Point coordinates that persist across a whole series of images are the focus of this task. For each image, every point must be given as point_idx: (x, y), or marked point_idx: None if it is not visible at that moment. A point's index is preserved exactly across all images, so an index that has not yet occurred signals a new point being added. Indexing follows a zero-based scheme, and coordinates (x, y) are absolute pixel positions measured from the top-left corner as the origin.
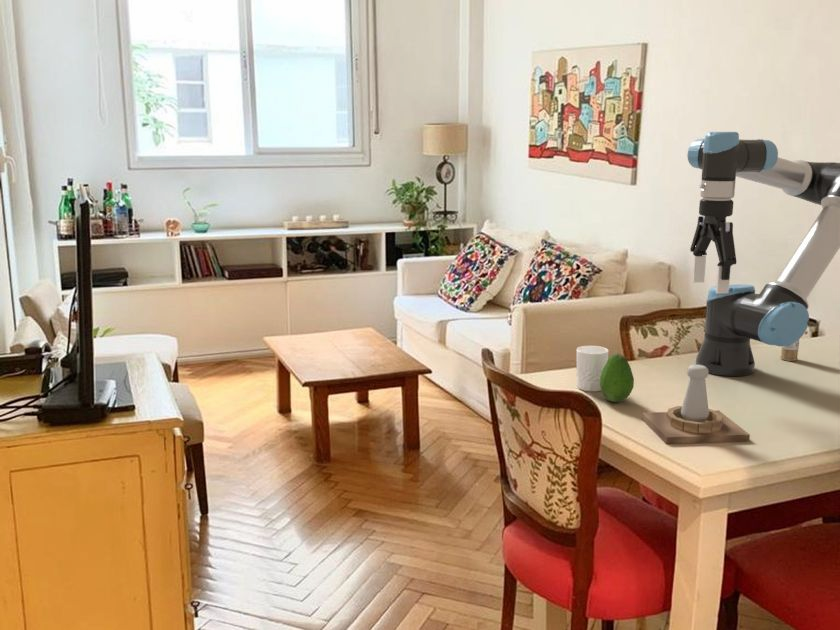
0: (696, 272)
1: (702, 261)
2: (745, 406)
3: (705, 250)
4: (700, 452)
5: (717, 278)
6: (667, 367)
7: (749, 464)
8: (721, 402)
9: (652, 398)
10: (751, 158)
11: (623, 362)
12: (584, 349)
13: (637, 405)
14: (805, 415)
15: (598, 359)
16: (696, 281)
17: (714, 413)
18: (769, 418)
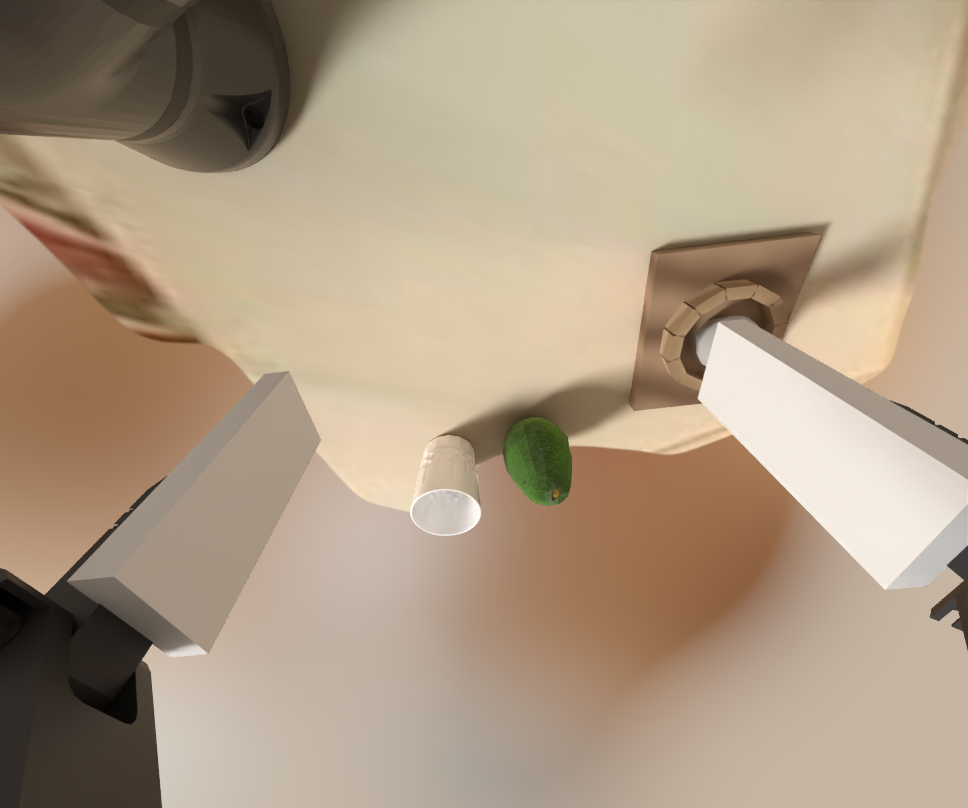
0: (281, 482)
1: (197, 539)
2: (592, 140)
3: (45, 708)
4: (807, 346)
5: (779, 470)
6: (245, 268)
7: (900, 277)
8: (553, 205)
9: (515, 362)
10: None
11: (568, 482)
12: (417, 516)
13: (555, 397)
14: None
15: (479, 497)
16: (309, 427)
17: (735, 298)
18: (698, 101)
